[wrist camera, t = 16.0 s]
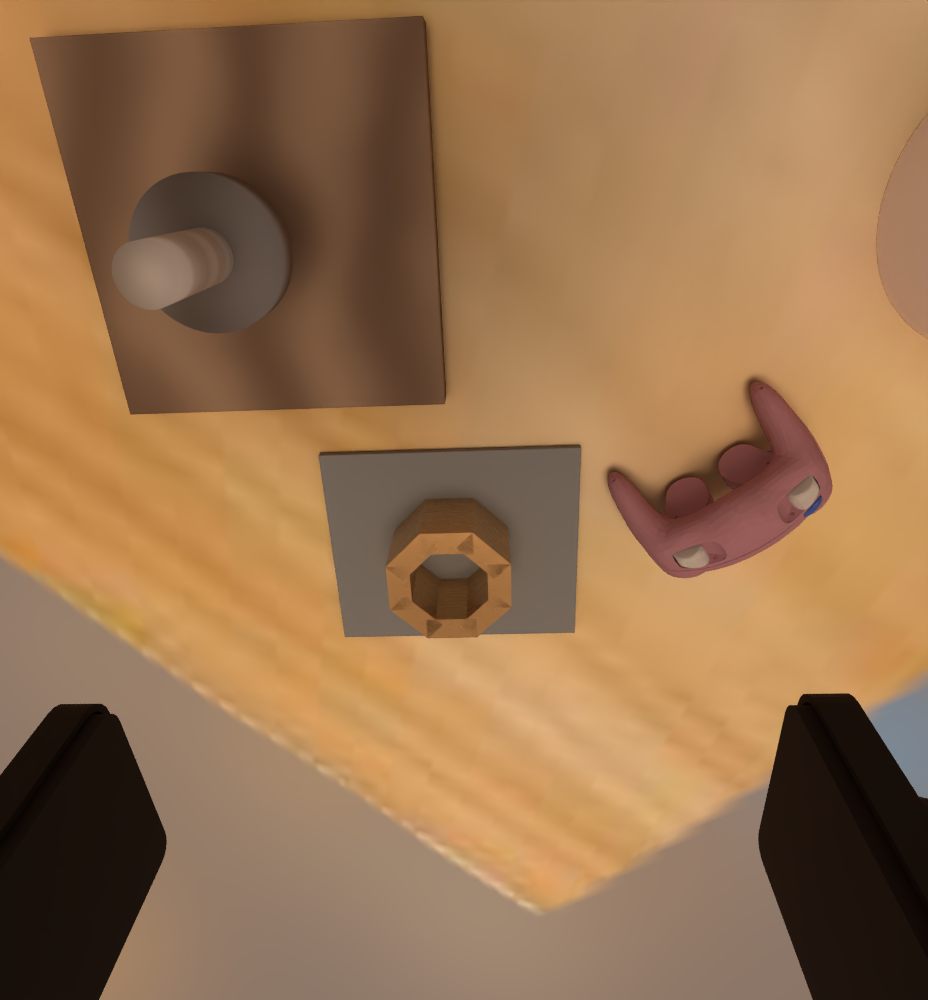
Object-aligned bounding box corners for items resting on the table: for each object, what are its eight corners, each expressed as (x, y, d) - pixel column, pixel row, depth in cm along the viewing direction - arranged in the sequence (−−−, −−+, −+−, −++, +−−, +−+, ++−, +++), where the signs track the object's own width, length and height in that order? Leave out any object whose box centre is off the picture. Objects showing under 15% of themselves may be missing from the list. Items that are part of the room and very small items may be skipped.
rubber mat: (580, 445, 36) (581, 447, 36) (573, 628, 42) (574, 632, 41) (320, 452, 37) (318, 455, 37) (346, 633, 42) (345, 637, 42)
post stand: (425, 23, 28) (385, -80, 17) (446, 395, 35) (428, 507, 24) (50, 44, 29) (-242, -41, 17) (143, 405, 36) (-20, 519, 24)
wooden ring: (507, 496, 37) (510, 531, 34) (509, 594, 40) (511, 636, 37) (391, 499, 38) (381, 535, 34) (401, 596, 40) (393, 638, 37)
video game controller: (626, 511, 40) (680, 609, 35) (594, 473, 37) (649, 576, 32) (783, 415, 37) (865, 508, 32) (763, 365, 34) (851, 461, 29)
